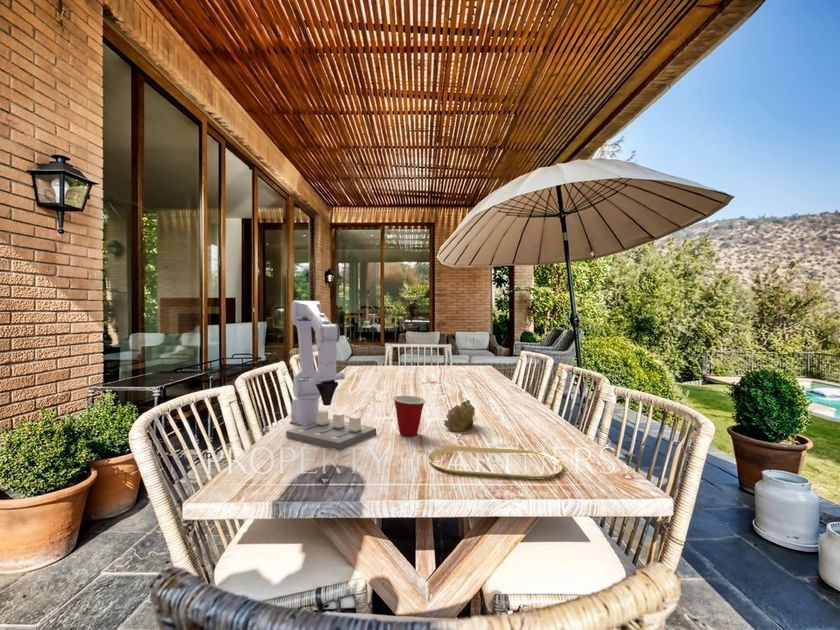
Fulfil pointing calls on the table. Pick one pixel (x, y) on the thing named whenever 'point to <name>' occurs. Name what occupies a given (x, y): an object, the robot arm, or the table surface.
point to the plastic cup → (408, 414)
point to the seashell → (460, 417)
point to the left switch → (322, 417)
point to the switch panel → (330, 434)
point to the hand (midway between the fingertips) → (326, 405)
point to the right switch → (354, 423)
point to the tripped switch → (338, 420)
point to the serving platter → (486, 450)
